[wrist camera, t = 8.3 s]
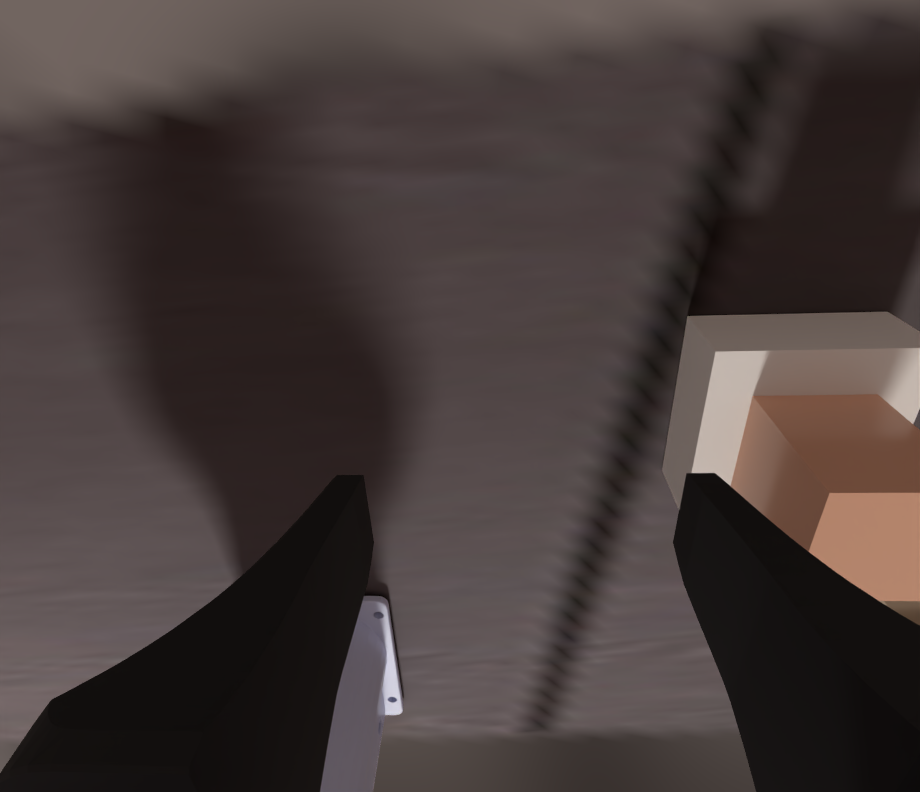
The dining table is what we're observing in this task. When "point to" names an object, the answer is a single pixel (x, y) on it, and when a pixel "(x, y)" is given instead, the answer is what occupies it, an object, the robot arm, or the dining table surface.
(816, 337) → the slab
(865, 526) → the terracotta block
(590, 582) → the dining table surface
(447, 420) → the dining table surface
